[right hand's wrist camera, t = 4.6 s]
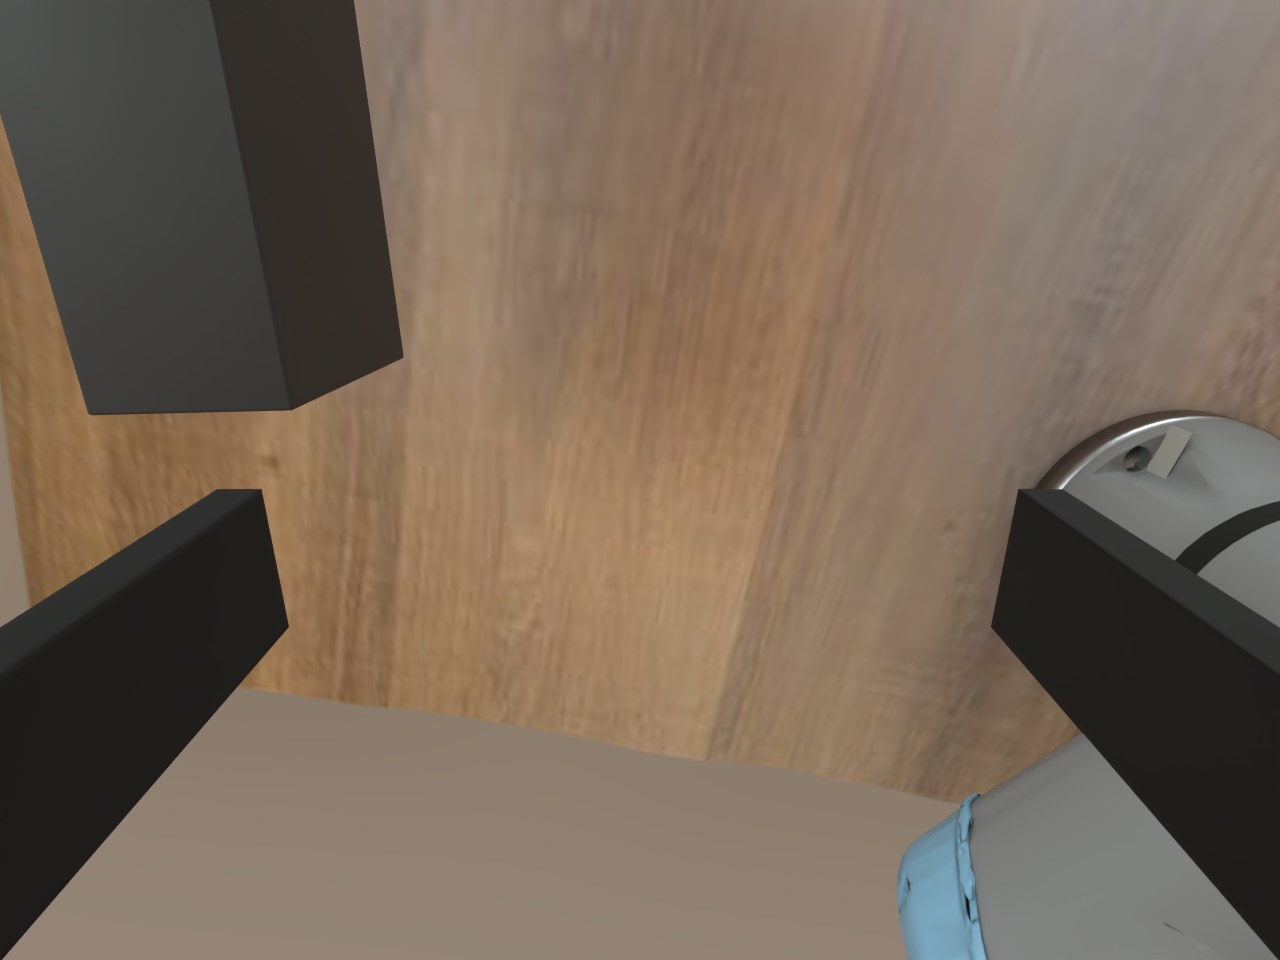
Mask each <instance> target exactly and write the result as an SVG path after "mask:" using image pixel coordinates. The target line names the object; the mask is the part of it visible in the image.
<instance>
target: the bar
mask: <svg viewBox="0 0 1280 960" xmlns="http://www.w3.org/2000/svg"><path fill="white" fill-rule="evenodd" d="M0 114H1V117H2V121H3V124H4V127H5V131H6V134H7V138H8V141H9V144H10V148H11V151H12V155H13V158H14V162H15V165H16V168H17V172H18V175H19V179H20V182H21V185H22V189H23V192H24V196H25V199H26V203H27V206H28V209H29V213H30V216H31V220H32V223H33V226H34V230H35V233H36V237H37V240H38V243H39V247H40V250H41V254H42V257H43V261H44V264H45V267H46V271H47V274H48V278H49V281H50V284H51V288H52V291H53V295H54V298H55V302H56V305H57V308H58V312H59V315H60V319H61V322H62V325H63V329H64V332H65V336H66V339H67V343H68V346H69V349H70V353H71V356H72V360H73V363H74V366H75V370H76V373H77V377H78V380H79V384H80V387H81V390H82V394H83V397H84V401H85V404H86V407H87V411H88V413H89V414H90V415H118V414H159V413H200V412H241V411H282V410H293V409H295V408H297V407H299V406H302V405H304V404H306V403H308V402H310V401H312V400H314V399H317V398H319V397H321V396H323V395H325V394H327V393H329V392H331V391H334V390H336V389H338V388H340V387H342V386H344V385H346V384H348V383H351V382H353V381H355V380H357V379H359V378H361V377H363V376H366V375H368V374H370V373H372V372H374V371H376V370H378V369H380V368H383V367H385V366H387V365H389V364H391V363H393V362H395V361H398V360H400V359H402V358H403V350H402V342H401V335H400V328H399V321H398V314H397V307H396V300H395V292H394V285H393V278H392V271H391V264H390V257H389V249H388V242H387V235H386V228H385V221H384V214H383V207H382V199H381V192H380V185H379V178H378V171H377V164H376V157H375V149H374V142H373V135H372V128H371V121H370V114H369V106H368V99H367V92H366V85H365V78H364V71H363V64H362V56H361V49H360V42H359V35H358V28H357V21H356V14H355V6H354V0H0Z"/></svg>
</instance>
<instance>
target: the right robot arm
mask: <svg viewBox="0 0 1280 960" xmlns="http://www.w3.org/2000/svg"><path fill="white" fill-rule="evenodd" d="M288 627H289V625H288V620H287V615H286V610H285V605H284V600H283V595H282V590H281V585H280V580H279V575H278V570H277V565H276V560H275V555H274V550H273V545H272V540H271V535H270V529H269V524H268V519H267V514H266V509H265V504H264V499H263V494H262V489H217V490H215V491H214V492H212V493H211V494H209V495H207V496H206V497H204V498H203V499H201V500H200V501H198V502H196V503H195V504H193V505H192V506H190V507H189V508H187V509H185V510H184V511H182V512H181V513H179V514H178V515H176V516H174V517H173V518H171V519H170V520H168V521H167V522H165V523H163V524H162V525H160V526H159V527H157V528H156V529H154V530H152V531H151V532H149V533H148V534H146V535H145V536H143V537H142V538H140V539H138V540H137V541H135V542H134V543H132V544H131V545H129V546H127V547H126V548H124V549H123V550H121V551H120V552H118V553H116V554H115V555H113V556H112V557H110V558H109V559H107V560H105V561H104V562H102V563H101V564H99V565H98V566H96V567H94V568H93V569H91V570H90V571H88V572H87V573H85V574H83V575H82V576H80V577H79V578H77V579H76V580H74V581H72V582H71V583H69V584H68V585H66V586H65V587H63V588H61V589H60V590H58V591H57V592H55V593H54V594H52V595H50V596H49V597H47V598H46V599H44V600H43V601H41V602H40V603H38V604H36V605H35V606H33V607H32V608H30V609H29V610H27V611H25V612H24V613H22V614H21V615H19V616H18V617H16V618H14V619H13V620H11V621H10V622H8V623H7V624H5V625H3V626H2V627H0V960H2V959H3V958H4V957H5V956H6V954H7V953H8V952H9V951H10V950H11V949H12V947H13V946H14V945H15V944H16V943H17V942H18V940H19V939H20V938H21V937H22V936H23V935H24V933H25V932H26V931H27V930H28V929H29V928H30V926H31V925H32V924H33V923H34V922H35V921H36V920H37V918H38V917H39V916H40V915H41V914H42V913H43V911H44V910H45V909H46V908H47V907H48V906H49V905H50V903H51V902H52V901H53V900H54V899H55V898H56V896H57V895H58V894H59V893H60V892H61V891H62V889H63V888H64V887H65V886H66V885H67V884H68V882H69V881H70V880H71V879H72V878H73V877H74V876H75V874H76V873H77V872H78V871H79V870H80V869H81V867H82V866H83V865H84V864H85V863H86V862H87V860H88V859H89V858H90V857H91V856H92V855H93V853H94V852H95V851H96V850H97V849H98V848H99V847H100V845H101V844H102V843H103V842H104V841H105V840H106V838H107V837H108V836H109V835H110V834H111V833H112V831H113V830H114V829H115V828H116V827H117V826H118V825H119V823H120V822H121V821H122V820H123V819H124V817H125V816H126V815H127V814H128V813H129V812H130V811H131V809H132V808H133V807H134V806H135V805H136V804H137V802H138V801H139V800H140V799H141V798H142V797H143V795H144V794H145V793H146V792H147V791H148V790H149V789H150V787H151V786H152V785H153V784H154V783H155V782H156V780H157V779H158V778H159V777H160V776H161V775H162V773H163V772H164V771H165V770H166V769H167V768H168V767H169V765H170V764H171V763H172V762H173V761H174V760H175V758H176V757H177V756H178V755H179V754H180V753H181V751H182V750H183V749H184V748H185V747H186V746H187V745H188V743H189V742H190V741H191V740H192V739H193V738H194V736H195V735H196V734H197V733H198V732H199V731H200V729H201V728H202V727H203V726H204V725H205V724H206V722H207V721H208V720H209V719H210V718H211V717H212V716H213V714H214V713H215V712H216V711H217V710H218V709H219V707H220V706H221V705H222V704H223V703H224V702H225V700H226V699H227V698H228V697H229V696H230V695H231V693H232V692H233V691H234V690H235V689H236V688H237V687H238V685H239V684H240V683H241V682H242V681H243V680H244V678H245V677H246V676H247V675H248V674H249V673H250V671H251V670H252V669H253V668H254V667H255V666H256V665H257V663H258V662H259V661H260V660H261V659H262V658H263V656H264V655H265V654H266V653H267V652H268V651H269V649H270V648H271V647H272V646H273V645H274V644H275V642H276V641H277V640H278V639H279V638H280V637H281V636H282V634H283V633H284V632H285V631H286V630H287V629H288ZM991 627H992V629H993V630H994V631H995V632H996V633H997V634H998V636H999V637H1000V638H1001V639H1002V640H1003V641H1004V642H1005V644H1006V645H1007V646H1008V647H1009V648H1010V649H1011V651H1012V652H1013V653H1014V654H1015V655H1016V656H1017V658H1018V659H1019V660H1020V661H1021V662H1022V663H1023V665H1024V666H1025V667H1026V668H1027V669H1028V670H1029V671H1030V673H1031V674H1032V675H1033V676H1034V677H1035V678H1036V680H1037V681H1038V682H1039V683H1040V684H1041V685H1042V687H1043V688H1044V689H1045V690H1046V691H1047V692H1048V693H1049V695H1050V696H1051V697H1052V698H1053V699H1054V700H1055V702H1056V703H1057V704H1058V705H1059V706H1060V707H1061V709H1062V710H1063V711H1064V712H1065V713H1066V714H1067V716H1068V717H1069V718H1070V719H1071V720H1072V721H1073V722H1074V724H1075V725H1076V726H1077V727H1078V728H1079V729H1080V731H1081V732H1082V733H1081V734H1079V735H1078V736H1076V737H1074V738H1073V739H1071V740H1070V741H1068V742H1067V743H1065V744H1063V745H1062V746H1060V747H1059V748H1057V749H1056V750H1054V751H1053V752H1051V753H1049V754H1048V755H1046V756H1045V757H1043V758H1042V759H1040V760H1038V761H1037V762H1035V763H1034V764H1032V765H1031V766H1029V767H1027V768H1026V769H1024V770H1023V771H1021V772H1019V773H1018V774H1016V775H1014V776H1013V777H1011V778H1010V779H1008V780H1006V781H1005V782H1003V783H1001V784H1000V785H998V786H996V787H995V788H993V789H991V790H990V791H988V792H987V793H985V794H983V795H980V794H975V793H974V794H972V795H970V796H968V797H967V798H966V799H964V800H963V802H962V804H961V806H960V809H958V810H957V811H956V812H954V813H953V814H951V815H950V816H949V817H947V818H946V819H944V820H943V821H942V822H940V823H939V824H938V825H936V826H935V827H933V828H932V829H931V830H929V831H928V832H926V833H925V834H924V835H922V836H921V837H919V838H918V839H917V840H916V841H915V842H914V843H913V844H911V845H910V847H909V848H908V849H907V851H906V853H905V854H904V856H903V858H902V861H901V865H900V868H899V872H898V879H897V901H898V908H899V914H900V918H899V920H900V926H901V931H902V936H903V940H904V944H905V948H906V952H907V956H908V960H1280V438H1278V437H1277V436H1275V435H1273V434H1271V433H1270V432H1268V431H1265V430H1263V429H1261V428H1259V427H1256V426H1253V425H1250V424H1247V423H1243V422H1240V421H1237V420H1234V419H1230V418H1227V417H1224V416H1221V415H1217V414H1213V413H1208V412H1202V411H1191V410H1172V411H1162V412H1155V413H1150V414H1145V415H1141V416H1137V417H1134V418H1130V419H1127V420H1125V421H1122V422H1119V423H1117V424H1114V425H1112V426H1110V427H1108V428H1106V429H1103V430H1101V431H1100V432H1098V433H1096V434H1094V435H1093V436H1091V437H1089V438H1087V439H1086V440H1084V441H1083V442H1082V443H1080V444H1079V445H1077V446H1076V447H1074V448H1073V449H1072V450H1071V451H1069V452H1068V453H1067V454H1066V455H1064V456H1063V457H1062V458H1061V459H1060V460H1059V461H1058V462H1057V463H1056V464H1055V465H1054V466H1053V467H1052V468H1051V469H1050V470H1049V471H1048V472H1047V473H1046V475H1045V476H1044V477H1043V478H1042V479H1041V481H1040V482H1039V483H1038V485H1037V486H1036V487H1035V489H1018V494H1017V499H1016V504H1015V509H1014V514H1013V519H1012V524H1011V529H1010V534H1009V539H1008V544H1007V550H1006V555H1005V560H1004V565H1003V570H1002V575H1001V580H1000V585H999V590H998V595H997V600H996V605H995V610H994V615H993V620H992V625H991Z"/></svg>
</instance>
